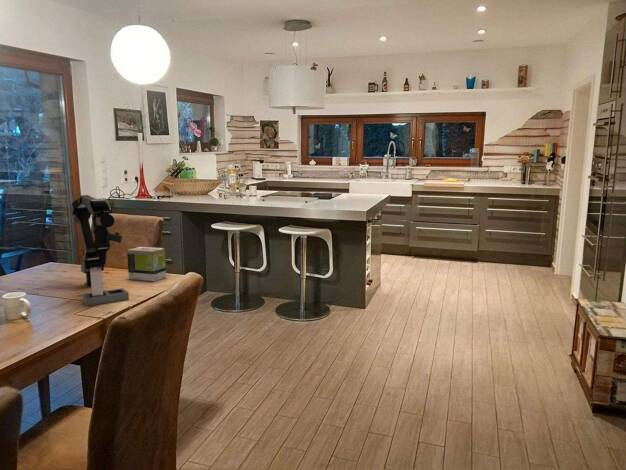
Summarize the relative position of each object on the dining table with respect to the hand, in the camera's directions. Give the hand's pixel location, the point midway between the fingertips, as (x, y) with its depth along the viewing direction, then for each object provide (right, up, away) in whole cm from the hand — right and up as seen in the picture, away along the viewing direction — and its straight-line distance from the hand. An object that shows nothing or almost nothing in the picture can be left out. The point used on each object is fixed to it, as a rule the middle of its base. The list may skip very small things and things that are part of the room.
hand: (104, 263), depth 208 cm
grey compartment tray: (+5, -15, -10) cm, 18 cm away
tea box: (+10, -9, +27) cm, 30 cm away
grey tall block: (+3, -15, -12) cm, 19 cm away
